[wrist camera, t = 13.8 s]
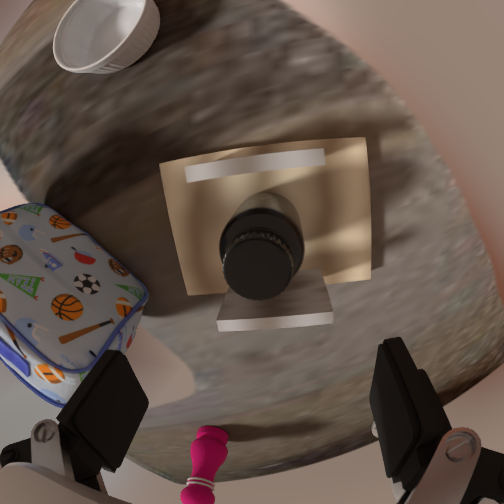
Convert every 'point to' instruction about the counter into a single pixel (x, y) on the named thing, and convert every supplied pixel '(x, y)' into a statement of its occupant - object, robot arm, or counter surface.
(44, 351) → the lunch box
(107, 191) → the counter surface
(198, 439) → the pepper mill
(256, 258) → the supplement bottle
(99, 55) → the ramekin
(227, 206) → the wooden stand
